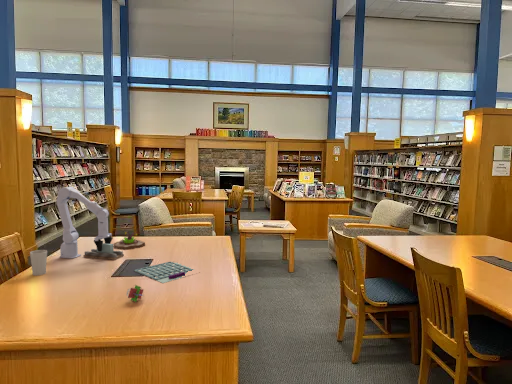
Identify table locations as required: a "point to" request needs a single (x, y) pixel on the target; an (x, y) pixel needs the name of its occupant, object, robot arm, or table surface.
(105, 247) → the door panel
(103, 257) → the door track
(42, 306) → the table surface
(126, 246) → the plant
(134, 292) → the geometric puzzle
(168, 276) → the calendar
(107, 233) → the robot arm
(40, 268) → the cup
